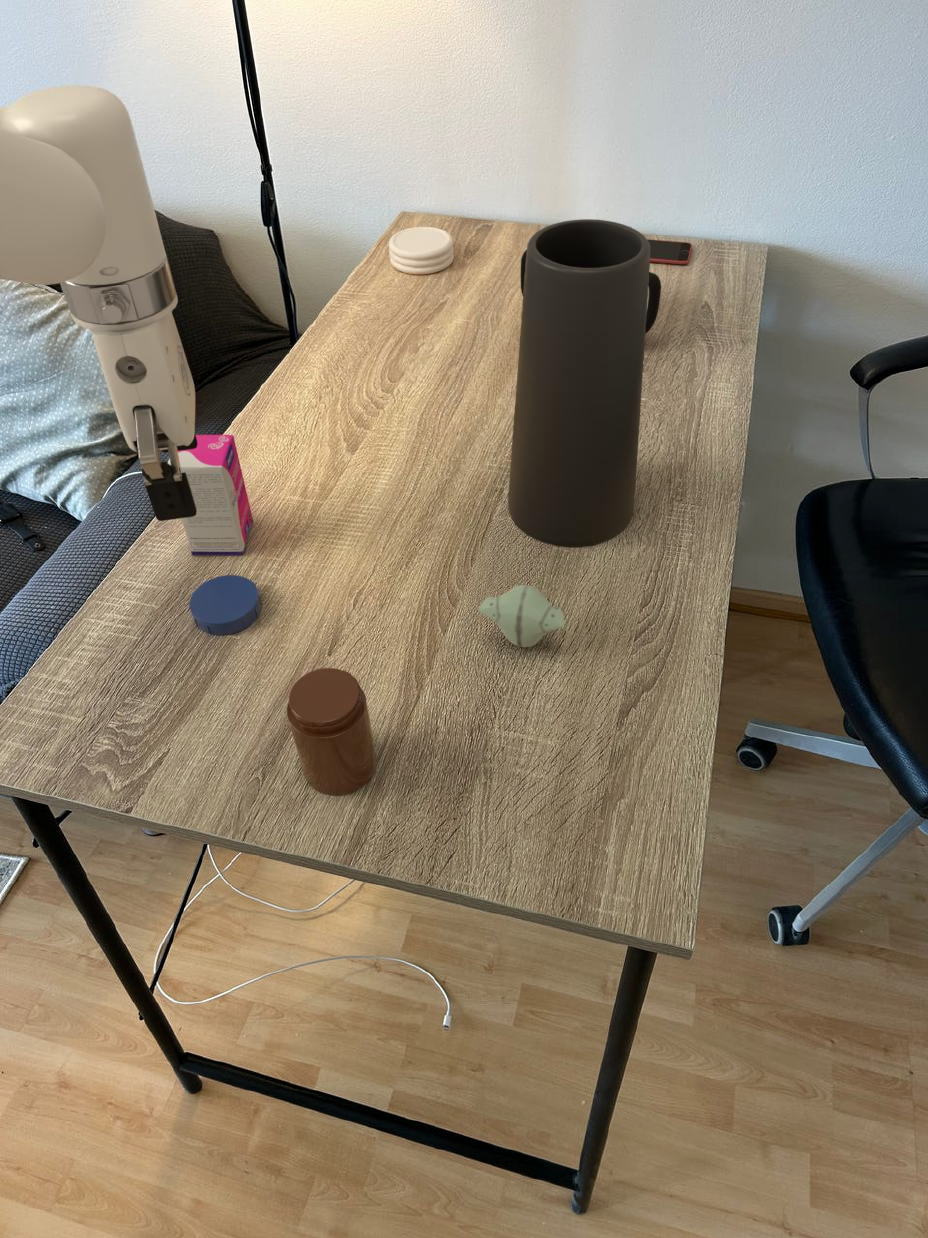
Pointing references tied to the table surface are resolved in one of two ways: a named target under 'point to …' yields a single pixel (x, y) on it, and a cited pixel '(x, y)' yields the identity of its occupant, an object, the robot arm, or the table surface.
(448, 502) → the table surface
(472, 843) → the table surface
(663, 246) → the smartphone
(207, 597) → the lid
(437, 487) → the table surface
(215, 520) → the supplement box
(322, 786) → the jar
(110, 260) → the robot arm
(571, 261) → the vase
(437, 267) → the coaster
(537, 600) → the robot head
